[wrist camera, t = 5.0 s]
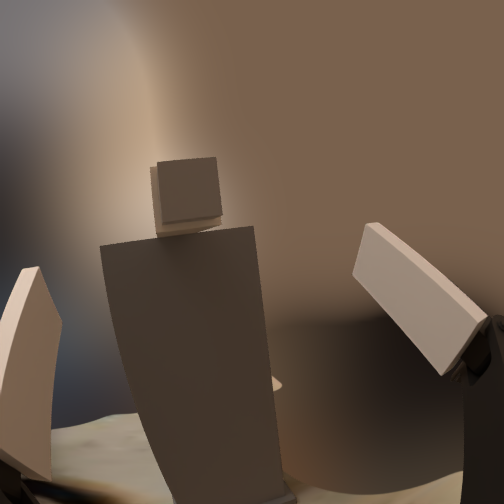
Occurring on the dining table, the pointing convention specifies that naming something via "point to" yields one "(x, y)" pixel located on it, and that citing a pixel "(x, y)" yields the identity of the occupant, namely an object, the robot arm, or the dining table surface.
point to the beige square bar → (185, 196)
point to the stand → (199, 363)
